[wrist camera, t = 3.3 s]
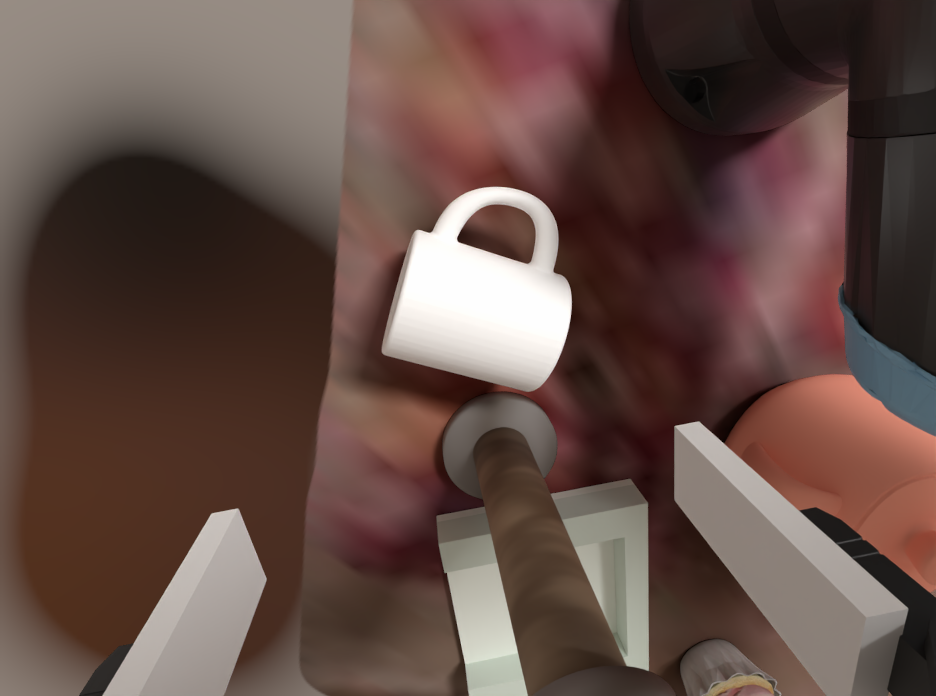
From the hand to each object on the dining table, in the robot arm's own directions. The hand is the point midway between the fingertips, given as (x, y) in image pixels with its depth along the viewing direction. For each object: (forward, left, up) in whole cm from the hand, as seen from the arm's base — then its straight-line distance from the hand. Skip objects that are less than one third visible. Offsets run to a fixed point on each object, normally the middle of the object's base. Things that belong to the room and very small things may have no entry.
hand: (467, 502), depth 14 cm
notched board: (-6, +28, -21) cm, 36 cm away
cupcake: (-22, +43, -22) cm, 53 cm away
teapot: (-30, +19, -22) cm, 42 cm away
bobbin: (-3, +12, -21) cm, 25 cm away
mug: (-3, -2, -22) cm, 22 cm away
